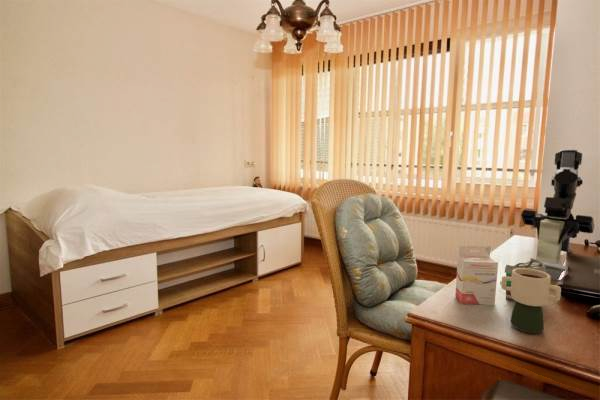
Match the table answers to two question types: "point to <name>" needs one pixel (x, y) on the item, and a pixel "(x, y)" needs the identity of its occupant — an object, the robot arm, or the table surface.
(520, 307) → the character mug
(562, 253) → the ivory cube
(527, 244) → the table surface
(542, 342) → the table surface
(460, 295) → the ink cartridge box
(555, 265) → the slate slab
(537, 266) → the food container
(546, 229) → the sage block
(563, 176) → the robot arm
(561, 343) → the table surface
